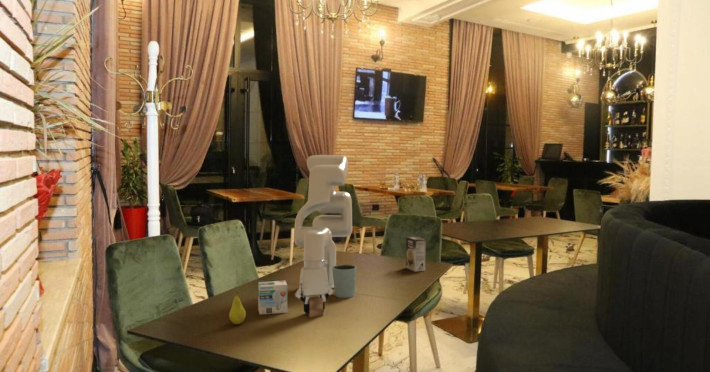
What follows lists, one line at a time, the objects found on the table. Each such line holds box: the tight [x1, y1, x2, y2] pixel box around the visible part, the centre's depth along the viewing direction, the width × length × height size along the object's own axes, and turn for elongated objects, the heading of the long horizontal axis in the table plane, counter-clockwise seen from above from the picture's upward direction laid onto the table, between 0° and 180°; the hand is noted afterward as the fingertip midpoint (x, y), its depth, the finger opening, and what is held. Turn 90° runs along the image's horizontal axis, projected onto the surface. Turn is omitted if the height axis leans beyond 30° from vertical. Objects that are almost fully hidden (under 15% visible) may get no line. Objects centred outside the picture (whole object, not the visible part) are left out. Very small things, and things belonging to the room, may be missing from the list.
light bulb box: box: [257, 280, 288, 315], centre depth 194 cm, size 11×7×11 cm, turn 105°
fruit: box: [228, 291, 247, 325], centre depth 179 cm, size 6×6×12 cm
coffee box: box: [405, 236, 427, 272], centre depth 261 cm, size 9×6×16 cm
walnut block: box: [307, 295, 324, 318], centre depth 190 cm, size 5×5×6 cm
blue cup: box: [332, 263, 357, 299], centre depth 215 cm, size 10×10×12 cm
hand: (314, 312), depth 190 cm, fingers closed on walnut block, 5 cm apart
